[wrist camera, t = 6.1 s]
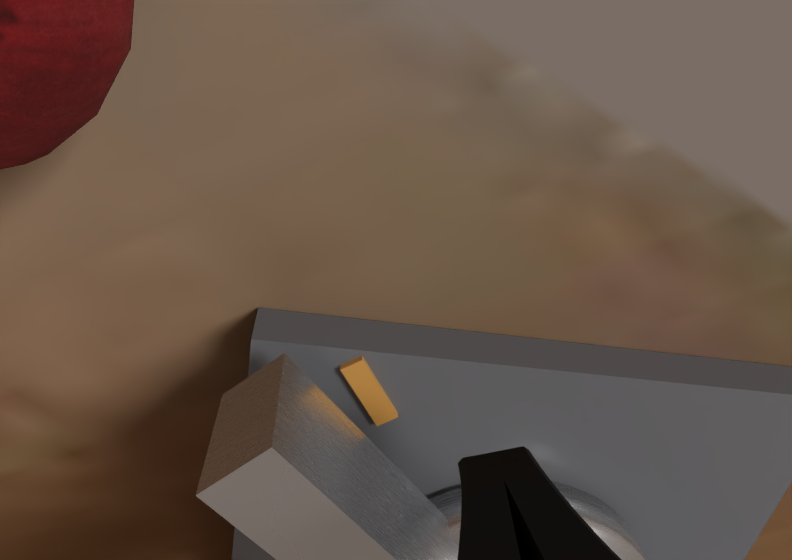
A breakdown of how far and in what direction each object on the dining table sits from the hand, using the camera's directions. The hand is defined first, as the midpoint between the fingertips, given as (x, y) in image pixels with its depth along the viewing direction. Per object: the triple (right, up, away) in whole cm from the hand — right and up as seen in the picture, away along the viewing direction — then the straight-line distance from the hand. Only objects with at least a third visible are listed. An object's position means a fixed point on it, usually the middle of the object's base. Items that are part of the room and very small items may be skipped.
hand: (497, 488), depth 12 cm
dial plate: (+1, -5, +8) cm, 9 cm away
